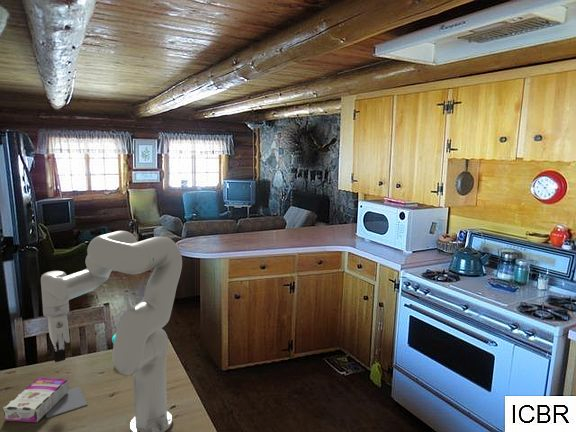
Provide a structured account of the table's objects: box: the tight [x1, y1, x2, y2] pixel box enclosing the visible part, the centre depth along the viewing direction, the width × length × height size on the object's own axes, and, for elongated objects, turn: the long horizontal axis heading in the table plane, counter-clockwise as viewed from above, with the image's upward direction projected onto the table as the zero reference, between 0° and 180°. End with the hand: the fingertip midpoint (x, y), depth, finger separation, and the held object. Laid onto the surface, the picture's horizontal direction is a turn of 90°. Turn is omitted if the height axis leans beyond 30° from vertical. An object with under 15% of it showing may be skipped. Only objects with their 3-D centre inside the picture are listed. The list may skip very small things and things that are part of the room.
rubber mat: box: [44, 386, 88, 419], centre depth 141 cm, size 13×12×1 cm
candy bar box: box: [2, 377, 70, 423], centre depth 138 cm, size 11×5×16 cm
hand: (59, 360), depth 141 cm, fingers closed
